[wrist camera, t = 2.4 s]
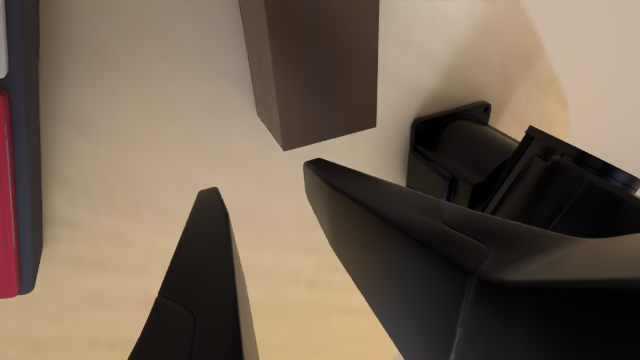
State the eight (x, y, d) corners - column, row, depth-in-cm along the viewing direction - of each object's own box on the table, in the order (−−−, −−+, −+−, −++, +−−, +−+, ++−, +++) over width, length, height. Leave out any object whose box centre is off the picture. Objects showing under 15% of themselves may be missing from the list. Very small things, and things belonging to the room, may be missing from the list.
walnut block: (332, -60, 19) (381, -56, 15) (338, 97, 23) (376, 127, 20) (230, -50, 17) (258, -43, 14) (257, 115, 22) (283, 152, 18)
